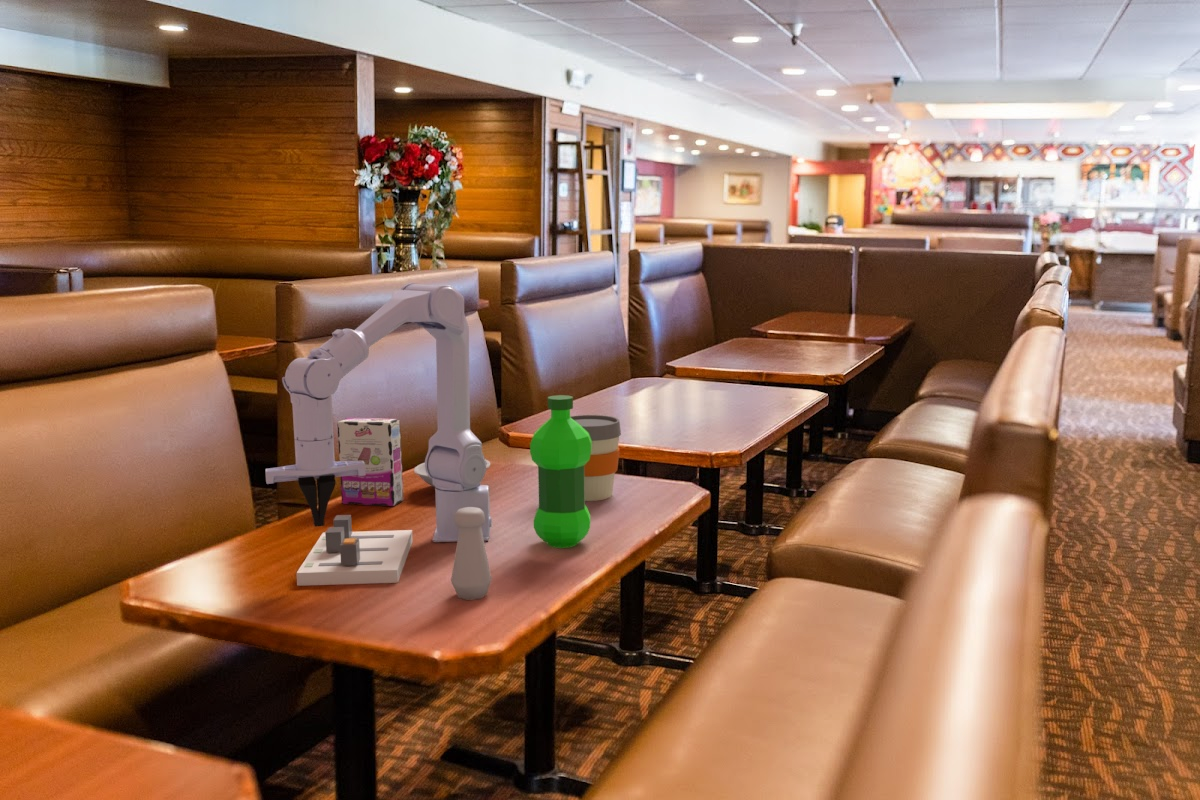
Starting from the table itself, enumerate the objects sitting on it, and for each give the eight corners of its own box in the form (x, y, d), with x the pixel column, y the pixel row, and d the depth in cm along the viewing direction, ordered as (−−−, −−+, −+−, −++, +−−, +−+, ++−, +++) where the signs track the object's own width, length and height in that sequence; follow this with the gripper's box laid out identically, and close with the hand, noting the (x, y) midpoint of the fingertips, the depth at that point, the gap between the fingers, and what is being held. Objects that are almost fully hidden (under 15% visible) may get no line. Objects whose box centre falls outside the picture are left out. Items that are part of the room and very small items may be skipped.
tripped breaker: (360, 558, 167) (359, 537, 166) (357, 565, 164) (355, 542, 163) (344, 559, 167) (343, 537, 166) (341, 565, 164) (339, 543, 163)
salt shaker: (474, 604, 153) (472, 516, 151) (443, 597, 156) (440, 511, 154) (499, 592, 158) (497, 507, 156) (469, 585, 161) (466, 501, 159)
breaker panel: (412, 541, 183) (412, 529, 183) (397, 582, 163) (397, 569, 162) (323, 543, 182) (322, 531, 182) (297, 585, 162) (296, 572, 161)
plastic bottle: (593, 534, 186) (591, 392, 182) (591, 552, 176) (589, 402, 172) (535, 534, 187) (532, 392, 182) (530, 552, 176) (527, 403, 172)
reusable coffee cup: (560, 486, 219) (559, 414, 216) (621, 487, 219) (621, 414, 216) (555, 503, 207) (554, 426, 204) (620, 503, 206) (620, 426, 204)
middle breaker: (344, 545, 173) (343, 526, 173) (341, 551, 170) (340, 532, 170) (329, 546, 173) (328, 527, 173) (326, 552, 170) (325, 532, 170)
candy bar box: (404, 500, 210) (401, 418, 207) (394, 507, 205) (390, 422, 202) (352, 497, 212) (347, 416, 209) (340, 504, 207) (336, 421, 205)
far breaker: (351, 533, 180) (351, 514, 180) (349, 538, 177) (348, 519, 177) (337, 533, 180) (336, 515, 180) (334, 539, 177) (333, 520, 177)
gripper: (359, 429, 168) (363, 513, 170) (262, 436, 163) (268, 522, 165) (365, 437, 161) (369, 525, 163) (264, 445, 156) (270, 535, 159)
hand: (318, 524), depth 164 cm, fingers closed
